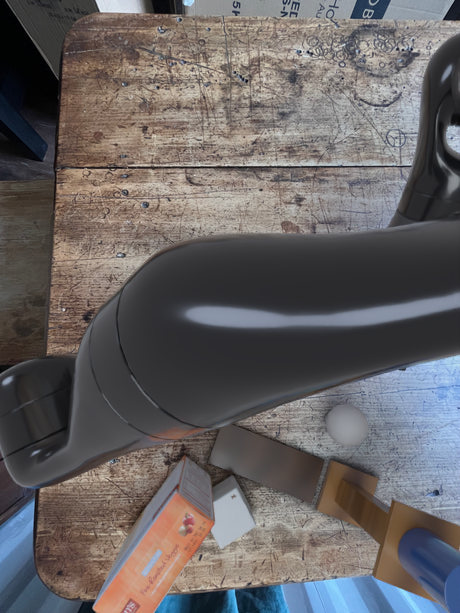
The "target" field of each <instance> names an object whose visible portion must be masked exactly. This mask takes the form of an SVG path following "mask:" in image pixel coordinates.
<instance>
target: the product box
mask: <svg viewBox="0 0 460 613" xmlns="http://www.w3.org/2000/svg"><path fill="white" fill-rule="evenodd" d="M212 494H213V504H214V514H215V524H214V526H213V527H212V529H211V530H210V532H211V534H212V536H213V538H214V540H215V542H216V544H217V546H218V548H219V549H220V550H222V549H224V548H225V547H227V546H229V545H230V544H231V543H233V542H235V541H236V540H237V539H239V538H241V537H242V536H244V535H245V534H247V533H248V532H250V531H251V530H253V529H254V528H256V527H257V522H256V520H255V516H254V514H253V510H252V507H251V504H249V501H248V498H247V497H246V495H245V494H244V492H243V490H242V489H241V486H240V485H239V483H238V481H237V480H236V478H235V476H234V475H230V476H228V477H227V478H225V479H224V480H222V481H220V482H219V483H217V484H216V485H215V486H212Z"/></svg>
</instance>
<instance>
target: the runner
mask: <svg viewBox="0 0 460 613" xmlns="http://www.w3.org/2000/svg"><path fill="white" fill-rule="evenodd" d="M207 464H209V465H212V466H214V467H217V468H220V469H222V470H225V471H226V472H230V473H233V474H235V475H237V476H240V477H242V478H246V479H248V480H250V481H253V482H255V483H257V484H260V485H262V486H265V487H267V488H270V489H273V490H276V491H278V492H280V493H283V494H284V495H285V494H286V495H288V496H290V497H292V498H296V499H298V500H301V501H303V502H305V503H307V504H308V503H309V504H312V503H313V499H314V496H315V494H316V491H317V490H316V489H317V487H318V484H319V480H320V477H321V474H322V470H323V467H324V464H325V460H324V459H322V458H320V457H317V456H315V455H312V454H309V453H307V452H304V451H301V450H300V449H297V448H294V447H292V446H289V445H287V444H284V443H281V442H280V441H276V440H274V439H271V438H269V437H266V436H263V435H261V434H258V433H256V432H254V431H251V430H248V429H246V428H243V427H241V426H238V425H236V424H231V425H228V426H224V427H221V428H218V433H217V434H216V438H215V440H214V443H213V446H212V449H211V451H210V453H209V457H208V459H207Z"/></svg>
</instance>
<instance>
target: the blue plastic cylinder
mask: <svg viewBox="0 0 460 613" xmlns="http://www.w3.org/2000/svg"><path fill="white" fill-rule="evenodd" d="M398 556H399V561H400V563H401V565H402V567H403V569H404V570H405V571H406V572H407V573H408V574H409V575H410V576H411V577H412V578H413V579H414V580H415V581H416V582H417V583H418V584H419V585H420V586H421V587H422V588H423V589H424V590H425V591H426V592H427V593H428V594H429V595H430V596H431V597H432V598H433V599H435V600H436V601H437V602H438V603H439V604H438V603H437V604H438V605H439V606H440V607H442V608H443V609H444V610H445V611H446V612H447V613H460V549H459V550H458V549H457V548H455V547H454V546H452V545H451V544H449V543H448V542H446V541H445V540H443V539H442V538H440V537H439V536H437V535H436V534H434V533H433V532H431V531H430V530H428V529H425V528H413V529H411V530H409V531H407V532H406V533H405V534H404V535H403V537H402V538H401V540H400V543H399V547H398Z"/></svg>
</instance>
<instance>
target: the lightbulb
mask: <svg viewBox="0 0 460 613" xmlns="http://www.w3.org/2000/svg"><path fill="white" fill-rule="evenodd" d="M323 422H324V424H325V427H326V431H327V434H328V436H329V437H330V439H331V440H332V441H333V443H336V444H337V445H339V446H341V447H345V448H352V447H357V446H359V445H361V444H362V443H364V442H365V440H366V439H367V437H368V436H369V433H370V432H369V431H370V424H369V423H370V422H369V420H368V418H367V416H366V414H365V413H364V412H363V411H362V409H360V408H359V407H357V406H355V405H353V404H349V403H342V404H338V405H336V406H335V407H333V408H332V409H331V410H329V412H327V413H326V414H325V416H324V419H323Z"/></svg>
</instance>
